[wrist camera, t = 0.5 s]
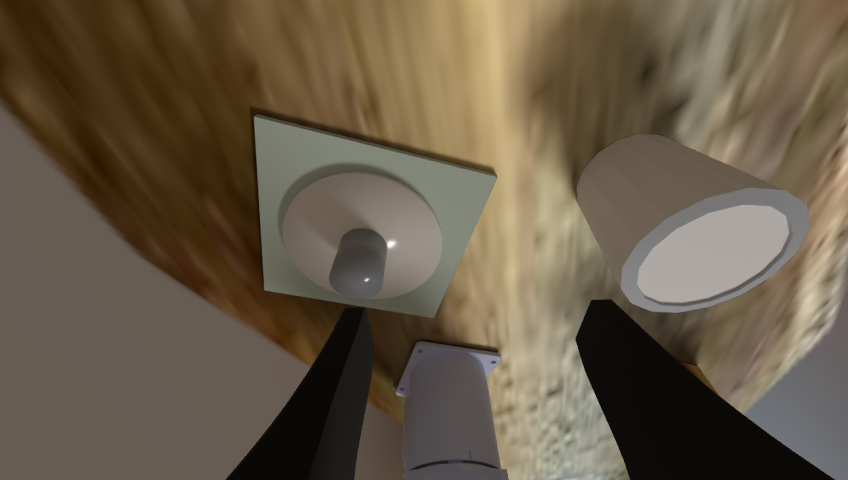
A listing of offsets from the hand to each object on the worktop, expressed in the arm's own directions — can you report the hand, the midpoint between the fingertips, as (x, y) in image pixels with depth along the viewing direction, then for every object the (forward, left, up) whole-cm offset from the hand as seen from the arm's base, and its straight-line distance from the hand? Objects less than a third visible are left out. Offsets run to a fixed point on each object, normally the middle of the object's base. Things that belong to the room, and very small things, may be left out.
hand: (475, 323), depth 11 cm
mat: (-6, +4, -10) cm, 12 cm away
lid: (-6, +4, -10) cm, 12 cm away
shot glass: (+2, -10, -10) cm, 15 cm away
